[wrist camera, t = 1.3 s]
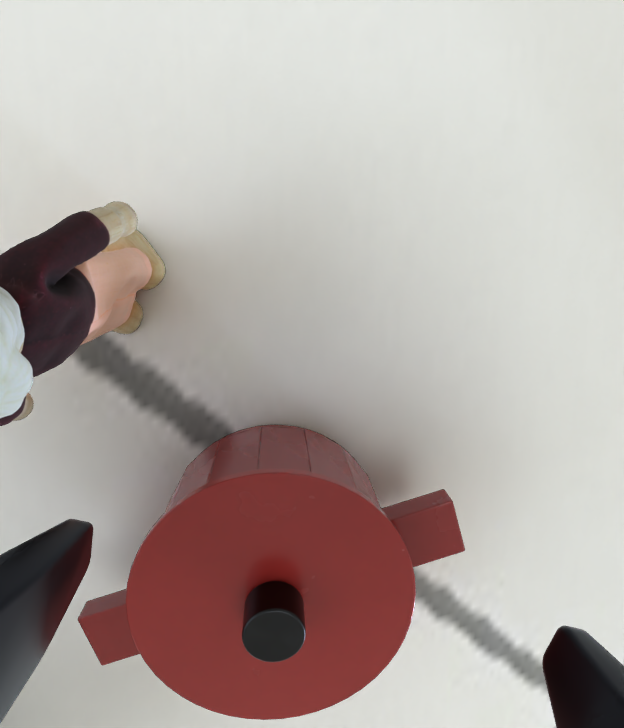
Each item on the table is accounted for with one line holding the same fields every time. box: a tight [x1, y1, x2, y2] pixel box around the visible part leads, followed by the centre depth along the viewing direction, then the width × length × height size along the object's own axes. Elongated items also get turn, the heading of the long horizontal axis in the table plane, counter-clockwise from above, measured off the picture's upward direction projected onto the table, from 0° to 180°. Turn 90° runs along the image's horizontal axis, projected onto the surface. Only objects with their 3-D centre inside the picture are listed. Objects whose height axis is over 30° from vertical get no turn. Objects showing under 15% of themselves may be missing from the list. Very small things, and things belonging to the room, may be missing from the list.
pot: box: [78, 425, 465, 665], centre depth 21 cm, size 10×15×5 cm, turn 107°
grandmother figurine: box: [0, 202, 165, 426], centre depth 14 cm, size 8×4×13 cm, turn 159°
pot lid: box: [126, 468, 416, 720], centre depth 17 cm, size 11×11×2 cm
